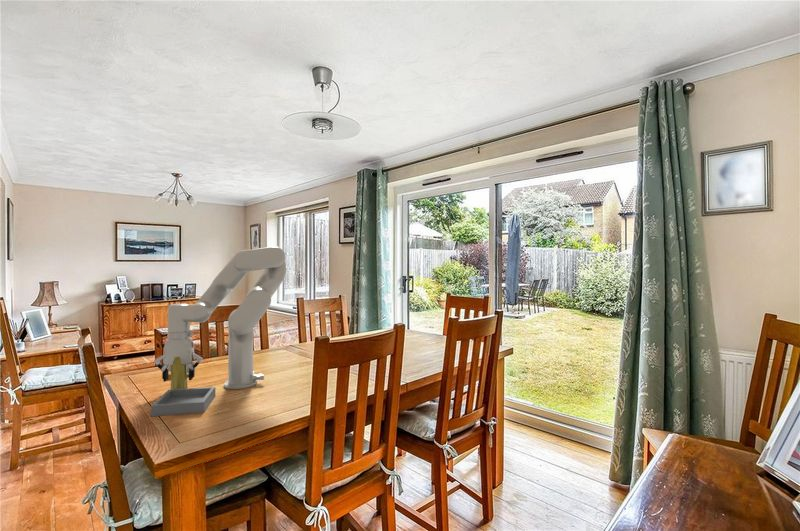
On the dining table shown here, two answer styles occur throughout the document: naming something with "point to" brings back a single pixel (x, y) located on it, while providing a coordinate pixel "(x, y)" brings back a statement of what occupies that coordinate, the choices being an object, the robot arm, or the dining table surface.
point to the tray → (183, 401)
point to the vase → (178, 375)
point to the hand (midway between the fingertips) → (178, 379)
